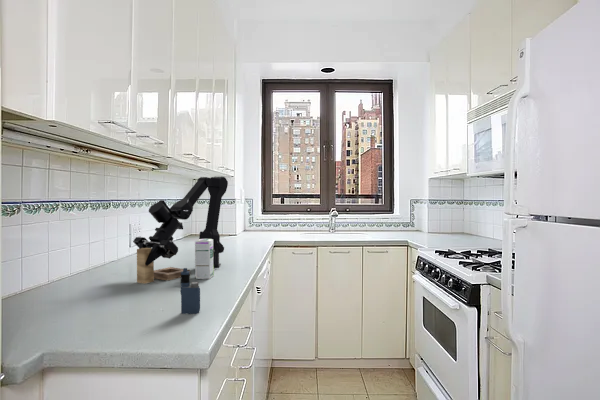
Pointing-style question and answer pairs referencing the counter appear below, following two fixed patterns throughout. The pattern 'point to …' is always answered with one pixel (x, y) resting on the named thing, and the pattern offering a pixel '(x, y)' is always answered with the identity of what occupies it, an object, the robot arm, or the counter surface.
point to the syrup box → (204, 259)
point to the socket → (168, 273)
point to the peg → (144, 266)
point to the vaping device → (189, 294)
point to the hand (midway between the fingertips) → (142, 264)
